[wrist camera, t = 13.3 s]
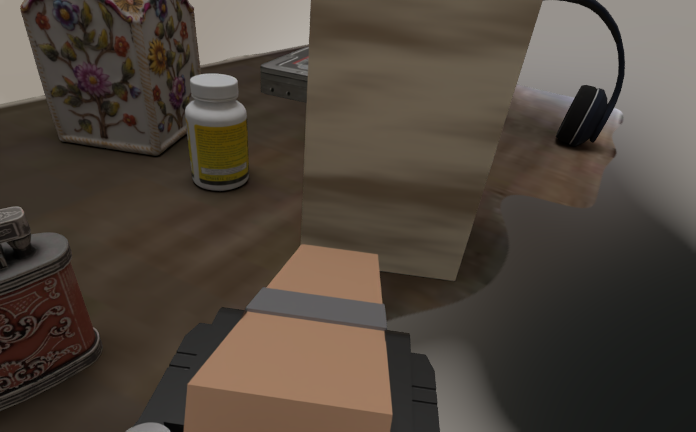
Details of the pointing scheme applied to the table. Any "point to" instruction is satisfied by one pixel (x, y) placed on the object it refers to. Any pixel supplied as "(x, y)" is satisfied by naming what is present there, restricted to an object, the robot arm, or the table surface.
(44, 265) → the lighter
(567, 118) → the headphones
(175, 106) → the decorative jar
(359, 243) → the socket tower
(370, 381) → the bar
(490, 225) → the table surface
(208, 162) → the supplement bottle
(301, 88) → the hard drive
